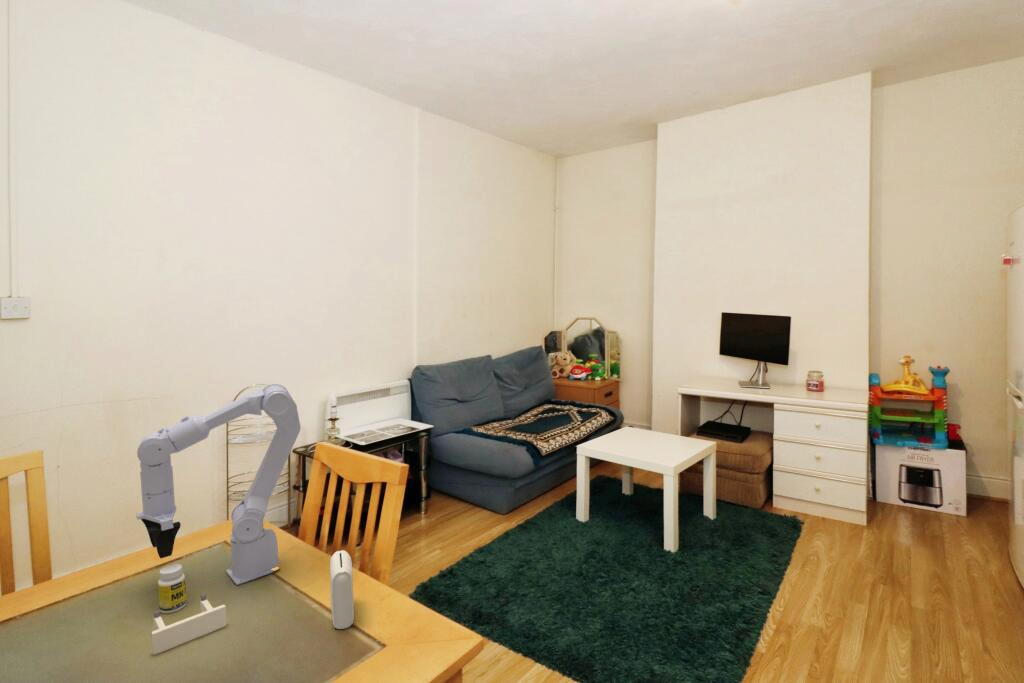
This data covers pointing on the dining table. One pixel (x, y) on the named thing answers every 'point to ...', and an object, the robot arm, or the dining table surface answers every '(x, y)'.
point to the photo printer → (341, 590)
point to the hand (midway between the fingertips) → (162, 550)
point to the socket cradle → (187, 626)
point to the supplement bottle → (171, 588)
